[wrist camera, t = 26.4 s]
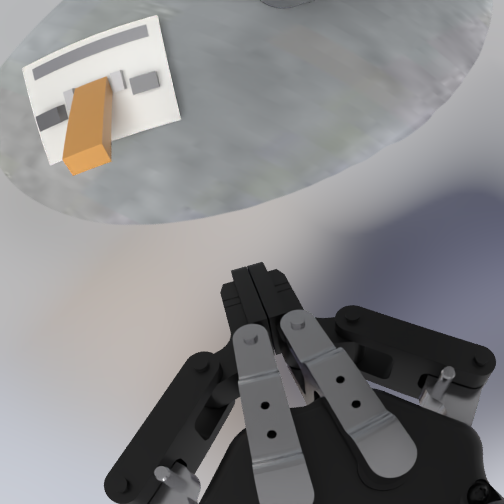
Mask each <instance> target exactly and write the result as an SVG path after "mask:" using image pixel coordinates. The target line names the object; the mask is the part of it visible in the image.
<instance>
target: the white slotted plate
mask: <svg viewBox="0 0 504 504" xmlns="http://www.w3.org/2000/svg"><path fill="white" fill-rule="evenodd" d="M22 70H23V75H24V79H25V83H26V87H27V91H28V95H29V99H30V103H31V106H32V110H33V114H34V117H35V120H36V124H37V127H38V130H39V134H40V137H41V140H42V143H43V146H44V149H45V152H46V155H47V158H48V160H49V163H50V165H53V164H55V163H57V162H60V161H62V157H63V150H64V143H65V137H66V131H67V125H68V119H69V114H70V109H71V104H72V100H73V95H74V91H75V88H78V87H80V86H82V85H85V84H87V83H90V82H93V81H95V80H98V79H100V78H103V77H106V76H107V78H108V81H109V83H110V86H111V89H112V91H113V96H112V123H111V141H114V140H117V139H120V138H123V137H126V136H129V135H132V134H135V133H138V132H141V131H144V130H148V129H151V128H154V127H158V126H161V125H164V124H168V123H171V122H175V121H179V120H181V117H180V112H179V108H178V104H177V100H176V96H175V91H174V87H173V83H172V78H171V74H170V70H169V65H168V61H167V56H166V52H165V47H164V43H163V38H162V33H161V29H160V24H159V19H158V15H155V16H152V17H148V18H144V19H141V20H137V21H134V22H131V23H128V24H125V25H121V26H118V27H115V28H112V29H110V30H107V31H104V32H101V33H99V34H96V35H93V36H91V37H88V38H86V39H83V40H81V41H78V42H76V43H73V44H71V45H69V46H67V47H64V48H62V49H60V50H58V51H55V52H53V53H51V54H49V55H47V56H45V57H43V58H41V59H39V60H37V61H35V62H33V63H31V64H29V65H27V66H26V67H24V68H22Z"/></svg>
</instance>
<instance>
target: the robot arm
mask: <svg viewBox="0 0 504 504" xmlns="http://www.w3.org/2000/svg"><path fill="white" fill-rule="evenodd" d="M260 1H262V2H263V3H265V4H267V5H270V6H273V7H277V8H291V7H294V6H297V5H299V4H302V3H304V2H309V3H310V2H312V1H315V0H260ZM231 273H232V277H233V280H234V281H233V282H230V283H226V284H223V287H222V289H221V297H222V301H223V305H224V308H225V312H226V316H227V320H228V323H229V327H230V331H231V338H230V341H229V342H228V344H227V345H226V346H225V347H224V348H223V349H221V350H220V351H218V352H216V353H215V354H213V353H211V352H198V353H196V354H194V355H192V356H191V357H189V359H187V361H186V362H185V364H184V365H183V367H182V368H181V369H180V371H179V373H178V374H177V375H176V377H175V378H174V380H173V381H172V383H171V384H170V385H169V387H168V389H167V390H166V391H165V393H164V394H163V396H162V397H161V399H160V400H159V401H158V403H157V404H156V406H155V407H154V409H153V410H152V412H151V413H150V414H149V416H148V417H147V419H146V420H145V422H144V423H143V424H142V426H141V427H140V429H139V430H138V432H137V433H136V434H135V436H134V437H133V439H132V440H131V442H130V443H129V445H128V446H127V447H126V449H125V450H124V452H123V453H122V455H121V456H120V457H119V459H118V461H117V462H116V463H115V465H114V466H113V467H112V469H111V471H110V472H109V473H108V475H107V476H106V478H105V482H104V489H105V492H106V494H107V496H108V497H109V498H110V499H111V500H112V501H114V502H116V503H118V504H198V503H197V499H198V495H199V492H200V489H201V485H200V481H199V479H198V478H197V476H196V475H195V472H196V471H197V469H198V467H199V466H200V464H201V462H202V461H203V459H204V457H205V455H206V453H207V452H208V450H209V449H210V447H211V445H212V443H213V442H214V440H215V438H216V436H217V435H218V433H219V431H220V429H221V428H222V426H223V424H224V422H225V421H226V419H227V417H228V415H229V413H230V412H231V410H232V408H233V406H234V404H235V399H237V398H238V397H241V403H242V409H243V414H244V419H245V425H246V428H245V429H243V430H242V431H241V432H240V433H239V434H238V435H237V436H236V437H235V438H234V439H233V441H232V442H231V444H230V445H229V447H228V449H227V451H226V453H225V455H224V457H223V459H222V461H221V463H220V465H219V467H218V469H217V470H216V472H215V474H214V476H213V478H212V480H211V482H210V484H209V486H208V488H207V489H206V491H205V493H204V495H203V497H202V499H201V501H200V502H199V504H504V498H503V497H502V496H501V495H500V494H499V493H498V492H497V491H496V490H495V489H494V488H493V487H492V486H491V485H490V484H489V482H488V480H487V478H486V475H485V471H484V465H483V449H482V448H483V447H482V442H481V440H480V437H479V436H478V434H477V432H476V431H475V430H474V429H473V428H472V427H471V425H472V422H473V419H474V416H475V412H476V409H477V405H478V402H479V397H480V394H481V390H482V388H483V387H484V385H485V384H486V382H487V380H488V378H489V376H490V375H491V373H492V372H493V370H494V368H495V366H496V359H495V356H494V354H493V353H492V352H491V351H490V350H489V349H488V348H486V347H484V346H481V345H478V344H474V343H471V342H468V341H465V340H462V339H458V338H455V337H452V336H448V335H446V334H443V333H439V332H436V331H433V330H430V329H427V328H424V327H421V326H417V325H415V324H411V323H408V322H405V321H402V320H399V319H396V318H393V317H390V316H387V315H384V314H381V313H378V312H375V311H372V310H368V309H366V308H363V307H360V306H354V305H352V306H345V307H343V308H342V309H340V310H339V311H338V312H337V313H336V316H335V317H333V318H316V317H314V316H313V315H312V314H311V313H310V312H308V311H305V310H304V309H303V307H302V306H301V304H300V302H299V300H298V298H297V296H296V295H295V293H294V291H293V290H292V288H291V286H290V284H289V282H288V280H287V278H286V276H285V275H284V274H283V273H281V272H280V271H279V270H277V269H275V270H271V271H268V272H267V270H266V268H265V266H264V263H263V262H260V263H256V264H253V265H250V266H247V267H242V268H239V269H235V270H232V271H231ZM273 348H274V349H273ZM274 350H275V353H276V355H277V354H281V353H282V355H283V357H284V360H285V362H286V363H287V367H288V369H289V371H290V373H291V375H292V377H293V379H294V380H295V383H296V384H297V386H298V388H299V390H300V392H301V394H302V396H303V398H304V400H305V402H306V405H307V406H304V407H296V408H289V405H288V401H287V397H286V394H285V391H284V387H283V383H282V379H281V376H280V373H279V371H278V368H277V364H276V361H275V357H274ZM366 380H368V381H371V382H373V383H376V384H379V385H381V386H384V387H386V388H389V389H392V390H394V391H397V392H400V393H403V394H405V395H408V396H411V397H414V398H417V399H419V403H420V405H421V406H419V405H416V404H414V403H411V402H409V401H406V400H404V399H401V398H399V397H396V396H394V395H392V394H389V393H387V392H385V391H381V390H378V389H373V388H371V387H370V385H369V384H368V382H367V381H366Z"/></svg>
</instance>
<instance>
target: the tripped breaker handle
mask: <svg viewBox="0 0 504 504" xmlns="http://www.w3.org/2000/svg"><path fill="white" fill-rule="evenodd" d="M112 96H113V91H112V89H111V86H110V83H109V81H108V78H107V76H106V77H103V78H100V79H98V80H95V81H93V82H90V83H87V84H85V85H82V86H80V87H78V88H75V91H74V95H73V100H72V104H71V109H70V114H69V119H68V125H67V131H66V137H65V143H64V150H63V157H62V160H63V161H64V163H65V164H66V166H67V167H68V169H69V170H70V172H71V173H72V175H73V176H74V175H76V174H79V173H81V172H84V171H87V170H89V169H92V168H95V167H97V166H100V165H103V164H106V163H109V162H111V123H112Z"/></svg>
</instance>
